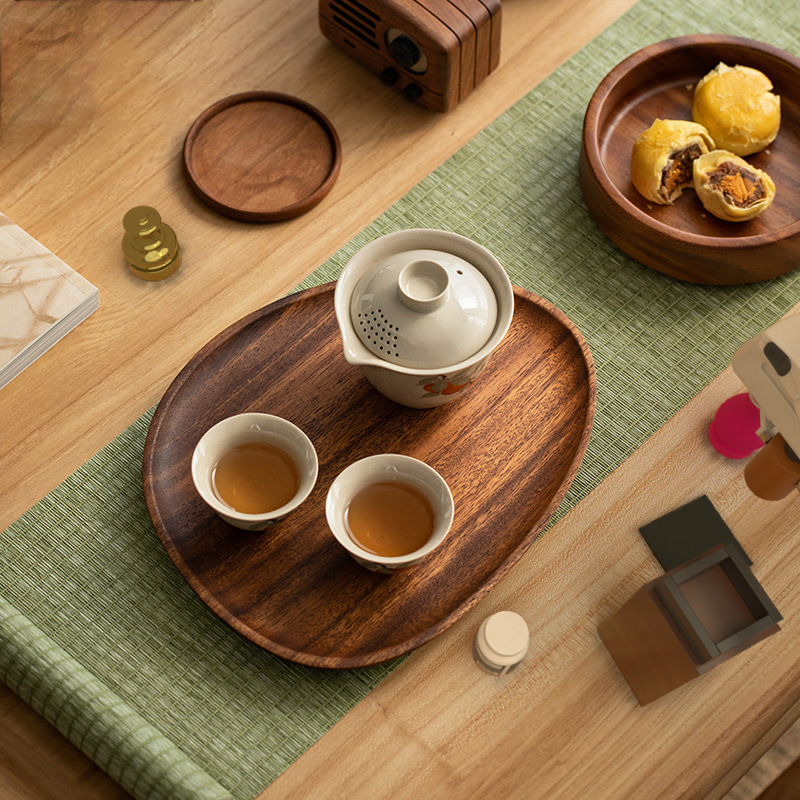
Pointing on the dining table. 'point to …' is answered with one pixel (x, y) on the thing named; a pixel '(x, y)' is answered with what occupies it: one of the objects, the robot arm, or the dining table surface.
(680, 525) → the slate mat
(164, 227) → the brass knob weight
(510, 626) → the pill bottle
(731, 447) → the pepper mill
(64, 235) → the dining table surface
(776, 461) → the amber bottle
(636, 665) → the stand
